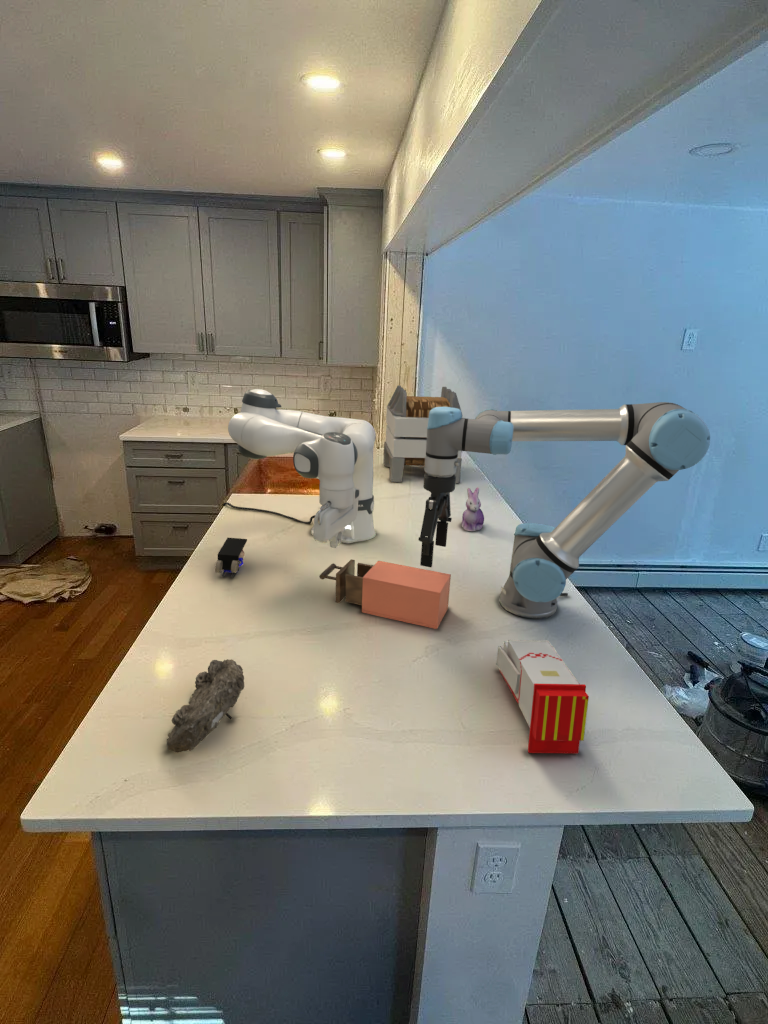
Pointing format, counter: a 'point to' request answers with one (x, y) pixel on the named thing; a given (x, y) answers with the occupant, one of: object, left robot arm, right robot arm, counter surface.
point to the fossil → (206, 705)
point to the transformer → (412, 430)
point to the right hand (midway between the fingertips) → (433, 555)
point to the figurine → (473, 512)
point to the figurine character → (230, 556)
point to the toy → (545, 695)
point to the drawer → (348, 581)
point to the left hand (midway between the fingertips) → (335, 545)
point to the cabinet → (406, 594)
